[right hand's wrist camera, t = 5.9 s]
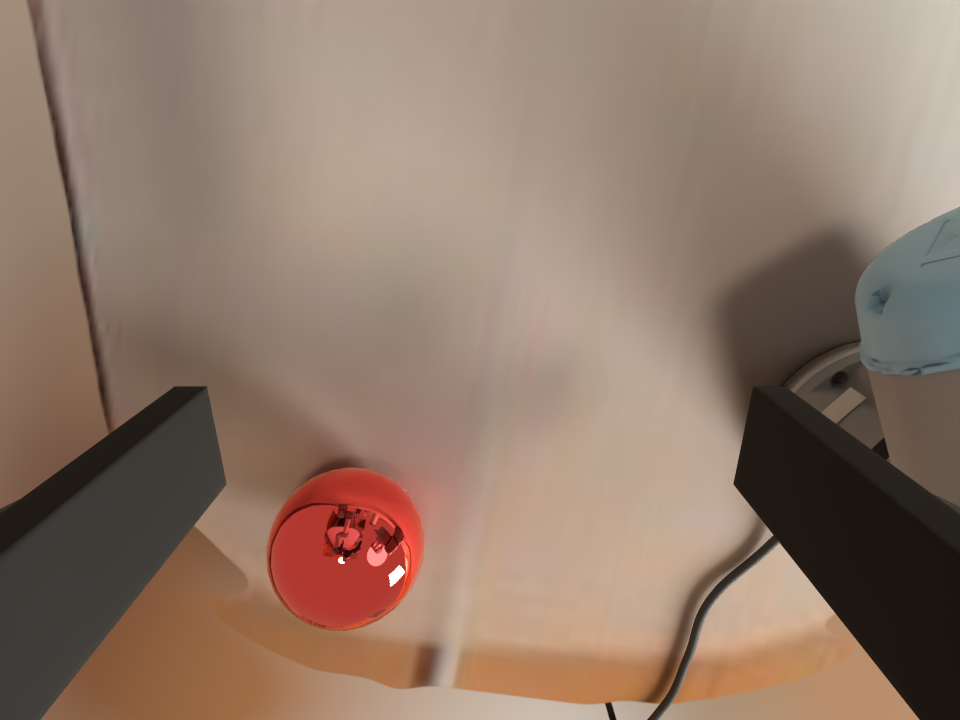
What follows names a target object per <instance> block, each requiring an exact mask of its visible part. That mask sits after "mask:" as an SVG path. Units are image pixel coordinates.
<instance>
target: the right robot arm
mask: <svg viewBox="0 0 960 720" xmlns="http://www.w3.org/2000/svg"><path fill="white" fill-rule="evenodd" d="M225 485H226V479H225V474H224V469H223V464H222V459H221V455H220V450H219V445H218V440H217V435H216V430H215V425H214V420H213V415H212V410H211V405H210V400H209V395H208V391H207V387H173V388H172V389H171V390H169V391H168V392H167V393H165V394H164V395H162V396H161V397H160V398H158V399H157V400H156V401H154V402H153V403H152V404H150V405H149V406H147V407H146V408H145V409H143V410H142V411H141V412H139V413H138V414H136V415H135V416H134V417H132V418H131V419H130V420H128V421H127V422H125V423H124V424H123V425H121V426H120V427H119V428H117V429H116V430H115V431H113V432H112V433H110V434H109V435H108V436H106V437H105V438H104V439H102V440H101V441H99V442H98V443H97V444H95V445H94V446H93V447H91V448H90V449H89V450H87V451H86V452H84V453H83V454H82V455H80V456H79V457H78V458H76V459H75V460H73V461H72V462H71V463H69V464H68V465H67V466H65V467H64V468H62V469H61V470H60V471H58V472H57V473H56V474H54V475H53V476H52V477H50V478H49V479H47V480H46V481H45V482H43V483H42V484H41V485H39V486H38V487H36V488H35V489H34V490H32V491H31V492H30V493H28V494H27V495H25V496H24V497H23V498H21V499H19V500H17V501H15V502H13V503H11V504H9V505H7V506H5V507H3V508H1V509H0V720H40V719H41V718H42V717H43V716H44V714H45V713H46V712H47V710H48V709H49V708H50V707H51V705H52V704H53V703H54V702H55V700H56V699H57V698H58V697H59V695H60V694H61V693H62V692H63V690H64V689H65V688H66V686H67V685H68V684H69V683H70V681H71V680H72V679H73V678H74V676H75V675H76V674H77V673H78V671H79V670H80V669H81V667H82V666H83V665H84V664H85V662H86V661H87V660H88V659H89V657H90V656H91V655H92V654H93V652H94V651H95V650H96V649H97V647H98V646H99V645H100V644H101V642H102V641H103V640H104V638H105V637H106V636H107V635H108V633H109V632H110V631H111V630H112V628H113V627H114V626H115V625H116V623H117V622H118V621H119V620H120V618H121V617H122V616H123V614H124V613H125V612H126V611H127V609H128V608H129V607H130V606H131V604H132V603H133V602H134V601H135V599H136V598H137V597H138V595H139V594H140V593H141V592H142V590H143V589H144V588H145V587H146V585H147V584H148V583H149V582H150V580H151V579H152V578H153V577H154V575H155V574H156V573H157V571H158V570H159V569H160V568H161V566H162V565H163V564H164V563H165V561H166V560H167V559H168V558H169V556H170V555H171V554H172V552H173V551H174V550H175V549H176V547H177V546H178V545H179V544H180V542H181V541H182V540H183V539H184V537H185V536H186V535H187V534H188V532H189V531H190V530H191V528H192V527H193V526H194V525H195V523H196V522H197V521H198V520H199V518H200V517H201V516H202V515H203V513H204V512H205V511H206V510H207V508H208V507H209V506H210V504H211V503H212V502H213V501H214V499H215V498H216V497H217V496H218V494H219V493H220V492H221V491H222V489H223V488H224V487H225ZM734 485H735V487H736V488H737V489H738V491H739V492H740V493H741V494H742V496H743V497H744V498H745V499H746V501H747V502H748V503H749V504H750V506H751V507H752V508H753V510H754V511H755V512H756V513H757V515H758V516H759V517H760V518H761V520H762V521H763V522H764V523H765V525H766V526H767V527H768V528H769V530H770V531H771V532H772V534H773V535H774V536H775V537H776V539H777V540H778V541H779V542H780V544H781V545H782V546H783V547H784V549H785V550H786V551H787V552H788V554H789V555H790V556H791V558H792V559H793V560H794V561H795V563H796V564H797V565H798V566H799V568H800V569H801V570H802V571H803V573H804V574H805V575H806V577H807V578H808V579H809V580H810V582H811V583H812V584H813V585H814V587H815V588H816V589H817V590H818V592H819V593H820V594H821V595H822V597H823V598H824V599H825V601H826V602H827V603H828V604H829V606H830V607H831V608H832V609H833V611H834V612H835V613H836V614H837V616H838V617H839V618H840V620H841V621H842V622H843V623H844V625H845V626H846V627H847V628H848V630H849V631H850V632H851V633H852V635H853V636H854V637H855V638H856V640H857V641H858V642H859V644H860V645H861V646H862V647H863V649H864V650H865V651H866V652H867V654H868V655H869V656H870V657H871V659H872V660H873V661H874V662H875V664H876V665H877V666H878V668H879V669H880V670H881V671H882V673H883V674H884V675H885V676H886V678H887V679H888V680H889V681H890V683H891V684H892V685H893V687H894V688H895V689H896V690H897V692H898V693H899V694H900V695H901V697H902V698H903V699H904V700H905V702H906V703H907V704H908V705H909V707H910V708H911V709H912V711H913V712H914V713H915V714H916V716H917V717H918V718H919V719H920V720H960V507H959V506H957V505H955V504H953V503H951V502H949V501H947V500H945V499H943V498H941V497H939V496H937V495H933V494H932V493H930V492H929V491H928V490H926V489H925V488H924V487H922V486H921V485H919V484H918V483H917V482H915V481H914V480H913V479H911V478H910V477H908V476H907V475H906V474H904V473H903V472H902V471H900V470H899V469H898V468H896V467H895V466H893V465H892V464H891V463H889V462H888V461H887V460H885V459H884V458H882V457H881V456H880V455H878V454H877V453H876V452H874V451H873V450H871V449H870V448H869V447H867V446H866V445H865V444H863V443H862V442H861V441H859V440H858V439H856V438H855V437H854V436H852V435H851V434H850V433H848V432H847V431H845V430H844V429H843V428H841V427H840V426H839V425H837V424H836V423H835V422H833V421H832V420H830V419H829V418H828V417H826V416H825V415H824V414H822V413H821V412H819V411H818V410H817V409H815V408H814V407H813V406H811V405H810V404H808V403H807V402H806V401H804V400H803V399H802V398H800V397H799V396H798V395H796V394H795V393H793V392H792V391H791V390H789V389H788V388H787V387H753V391H752V395H751V400H750V405H749V410H748V415H747V420H746V425H745V430H744V435H743V440H742V445H741V450H740V455H739V459H738V464H737V469H736V474H735V479H734Z"/></svg>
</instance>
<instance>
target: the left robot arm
mask: <svg viewBox="0 0 960 720" xmlns="http://www.w3.org/2000/svg"><path fill="white" fill-rule="evenodd" d="M855 306H856V312H857V318H858V324H859V330H860V336H861V341H859V342H854V343H850V344H846V345H843V346H840V347H837V348H835V349H832V350H830V351H828V352H826V353H823V354H822V355H820V356H818V357H816V358H814V359H813V360H811V361H810V362H808V363H807V364H806V365H804V366H803V367H802V368H800V369H799V370H798V371H797V372H796V373H795V374H794V375H792V376H791V377H790V378H789V380H788V381H787V382H786V383H785V384H784V385H783V386H782V387H787V388H788V389H789V390H791V391H792V392H793V393H795V394H796V395H798V396H799V397H800V398H802V399H803V400H804V401H806V402H807V403H808V404H810V405H811V406H813V407H814V408H815V409H817V410H818V411H819V412H821V413H822V414H824V415H825V416H826V417H828V418H829V419H830V420H832V421H833V422H835V423H836V424H837V425H839V426H840V427H841V428H843V429H844V430H845V431H847V432H848V433H850V434H851V435H852V436H854V437H855V438H856V439H858V440H859V441H861V442H862V443H863V444H865V445H866V446H867V447H869V448H870V449H871V450H873V451H874V452H876V453H877V454H878V455H880V456H881V457H882V458H884V459H885V460H887V461H888V462H889V463H891V464H892V465H893V466H895V467H896V468H898V469H899V470H900V471H902V472H903V473H904V474H906V475H907V476H908V477H910V478H911V479H913V480H914V481H915V482H917V483H918V484H919V485H921V486H922V487H924V488H925V489H926V490H928V491H929V492H930V493H932V494H933V495H937V496H939V497H941V498H943V499H945V500H947V501H949V502H951V503H953V504H955V505H957V506H959V507H960V207H958V208H956V209H954V210H951V211H949V212H947V213H945V214H943V215H941V216H938V217H936V218H934V219H933V220H931V221H929V222H928V223H925V224H923V225H921V226H919V227H917V228H916V229H914V230H912V231H910V232H908V233H907V234H905V235H904V236H902V237H901V238H899V239H898V240H896V241H895V242H893V243H892V244H891V245H889V246H888V247H887V248H885V249H884V250H883V251H882V252H881V253H880V254H878V255H877V256H876V257H875V258H874V259H873V261H872V262H871V263H870V264H869V265H868V267H867V268H866V269H865V271H864V272H863V274H862V276H861V277H860V279H859V282H858V284H857V288H856V293H855ZM779 543H780V542H779V541H778V540H777V539H776V537H775V536H774V535H773V536H772V537H771V538H770V539H769V540H768V541H767V542H766V543H765V544H764V545H763V546H762V547H761V548H759V549H758V550H757V551H756V552H755V553H754V554H753V555H751V556H750V557H749V558H748V559H747V560H745V561H744V562H743V563H742V564H740V565H739V566H738V567H737V568H735V569H734V570H733V571H732V572H731V573H729V574H728V575H727V576H726V577H725V578H724V579H723V580H722V581H721V582H720V583H719V584H718V585H717V586H716V587H715V588H714V589H713V590H712V591H711V593H710V594H709V595H708V596H707V598H706V599H705V601H704V602H703V604H702V605H701V607H700V609H699V611H698V613H697V616H696V618H695V621H694V624H693V627H692V631H691V635H690V639H689V642H688V646H687V648H686V651H685V654H684V656H683V659H682V661H681V664H680V666H679V669H678V672H677V674H676V677H675V680H674V682H673V684H672V687H671V689H670V690H669V692H668V694H667V695H666V697H665V698H664V700H663V701H662V702H661V704H660V705H659V706H658V707H657V709H656V710H655V711H654V712H653V714H652V715H651V716H650V717H649V718H648V720H659V718H660V717H661V716H662V715H663V714H664V712H665V711H666V710H667V709H668V707H669V706H670V705H671V703H672V702H673V700H674V699H675V697H676V695H677V694H678V692H679V690H680V688H681V685H682V683H683V680H684V678H685V675H686V672H687V670H688V667H689V665H690V662H691V660H692V657H693V655H694V652H695V650H696V646H697V643H698V639H699V636H700V632H701V629H702V625H703V623H704V620H705V618H706V616H707V614H708V612H709V610H710V608H711V607H712V605H713V604H714V602H715V601H716V600H717V599H718V597H719V596H720V595H721V594H722V593H723V592H724V591H725V590H726V589H727V588H728V587H729V586H730V585H731V584H732V583H733V582H735V581H736V580H737V579H738V578H739V577H741V576H742V575H743V574H744V573H746V572H747V571H748V570H749V569H751V568H752V567H753V566H754V565H756V564H757V563H758V562H759V561H760V560H762V559H763V558H764V557H765V556H766V555H767V554H768V553H769V552H771V551H772V550H773V549H774V548H775V547H776V546H777V545H778V544H779ZM605 705H606V709H607V712H608V716H609V720H617V719H616V716H615V713H614V709H613V706H612V703H611V702H608V703H605Z"/></svg>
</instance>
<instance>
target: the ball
mask: <svg viewBox="0 0 960 720" xmlns="http://www.w3.org/2000/svg"><path fill="white" fill-rule="evenodd" d="M424 552H425V540H424V526H423V523H422V520H421V517H420V514H419V511H418V508H417V506H416V505H415V503H414V502H413V500H412V499H411V497H410V496H409V494H408V493H407V491H406V490H404V489H403V488H402V487H401V486H400V485H399V484H398V483H397V482H396V481H394V480H393V479H391V478H389V477H387V476H386V475H384V474H382V473H380V472H376V471H373V470H369V469H366V468H354V467H348V468H341V469H334V470H330V471H328V472H325V473H323V474H320V475H317V476H315V477H313V478H311V479H310V480H308V481H307V482H306V483H304V484H303V485H302V486H300V487H299V488H298V489H296V490H295V491H294V492H293V493H292V494H291V495H290V496H289V498H288V499H287V500H286V502H285V503H284V504H283V506H282V507H281V508H280V510H279V511H278V513H277V515H276V517H275V519H274V522H273V525H272V527H271V530H270V533H269V536H268V540H267V562H266V565H267V571H268V575H269V578H270V581H271V585H272V588H273V590H274V592H275V594H276V595H277V597H278V598H279V600H280V601H281V603H282V604H283V606H284V607H285V608H286V609H287V610H288V611H290V612H291V613H292V614H293V615H294V616H295V617H296V618H298V619H300V620H301V621H303V622H305V623H306V624H308V625H311V626H314V627H317V628H319V629H325V630H331V631H347V630H353V629H357V628H362V627H365V626H368V625H370V624H372V623H374V622H376V621H378V620H380V619H382V618H384V617H385V616H386V615H387V614H389V613H390V612H391V611H392V610H394V609H395V608H396V607H397V606H398V605H399V604H400V603H401V602H402V601H403V600H404V598H405V597H406V596H407V594H408V593H409V591H410V590H411V588H412V587H413V585H414V584H415V582H416V580H417V578H418V575H419V571H420V568H421V565H422V562H423V558H424Z"/></svg>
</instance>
